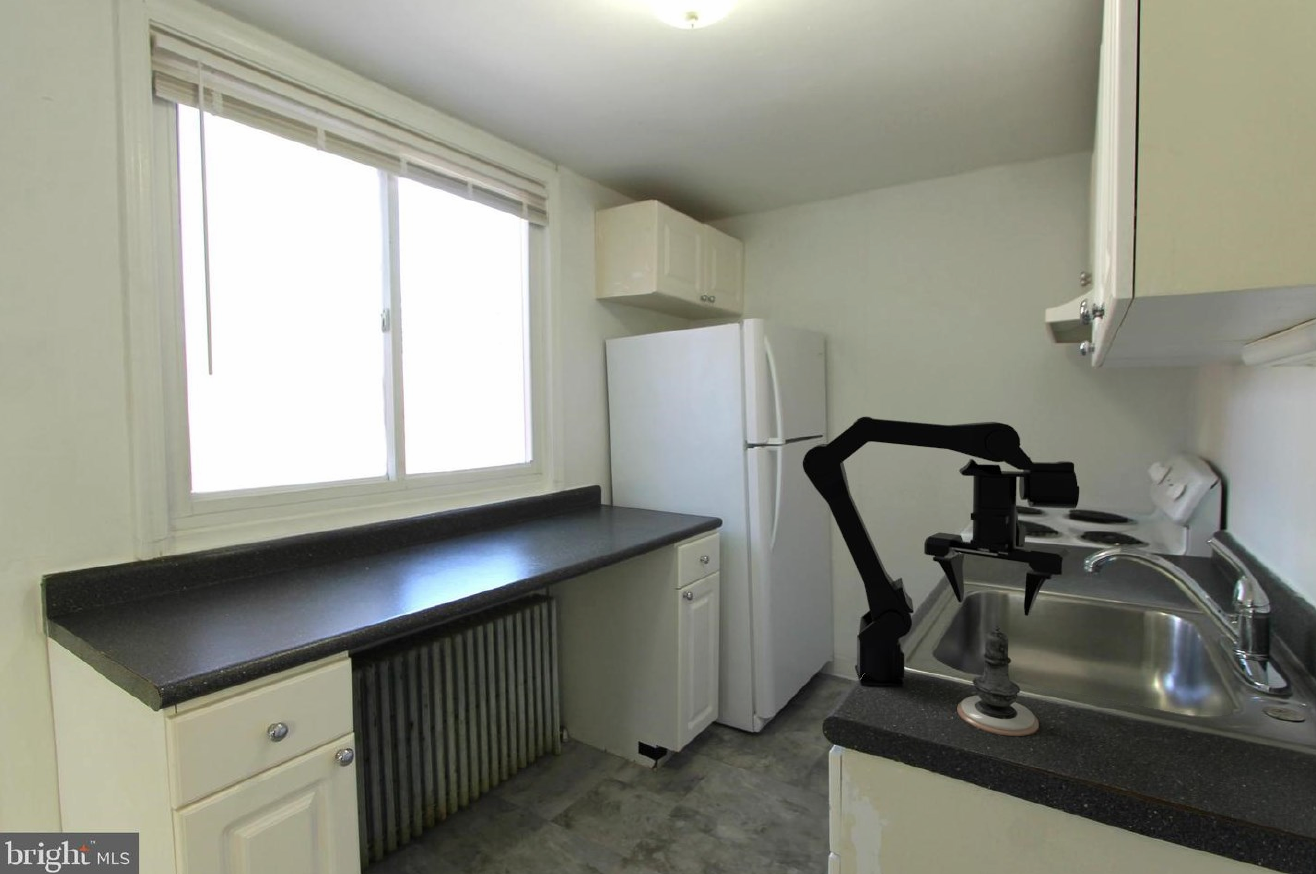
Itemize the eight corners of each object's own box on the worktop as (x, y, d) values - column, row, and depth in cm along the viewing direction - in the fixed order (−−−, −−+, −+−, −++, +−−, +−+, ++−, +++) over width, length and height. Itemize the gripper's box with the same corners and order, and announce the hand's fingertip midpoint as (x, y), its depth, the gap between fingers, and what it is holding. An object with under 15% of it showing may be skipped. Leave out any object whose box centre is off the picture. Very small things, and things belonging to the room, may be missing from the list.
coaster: (970, 733, 84) (970, 726, 84) (948, 698, 94) (948, 692, 94) (1051, 738, 82) (1052, 731, 82) (1020, 703, 92) (1021, 696, 92)
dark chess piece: (978, 717, 86) (979, 631, 86) (967, 698, 92) (968, 617, 91) (1025, 722, 85) (1027, 634, 84) (1012, 702, 90) (1013, 620, 90)
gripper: (1079, 505, 94) (1077, 608, 94) (949, 494, 107) (948, 585, 107) (1061, 515, 86) (1059, 628, 86) (923, 502, 99) (922, 600, 99)
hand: (992, 608), depth 95 cm, fingers open, 9 cm apart
